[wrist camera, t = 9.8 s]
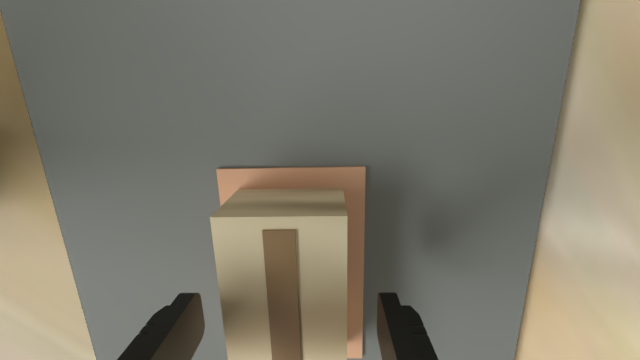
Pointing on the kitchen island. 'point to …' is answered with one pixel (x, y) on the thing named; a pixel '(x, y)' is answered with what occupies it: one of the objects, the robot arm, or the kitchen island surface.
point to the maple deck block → (283, 273)
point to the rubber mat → (299, 148)
